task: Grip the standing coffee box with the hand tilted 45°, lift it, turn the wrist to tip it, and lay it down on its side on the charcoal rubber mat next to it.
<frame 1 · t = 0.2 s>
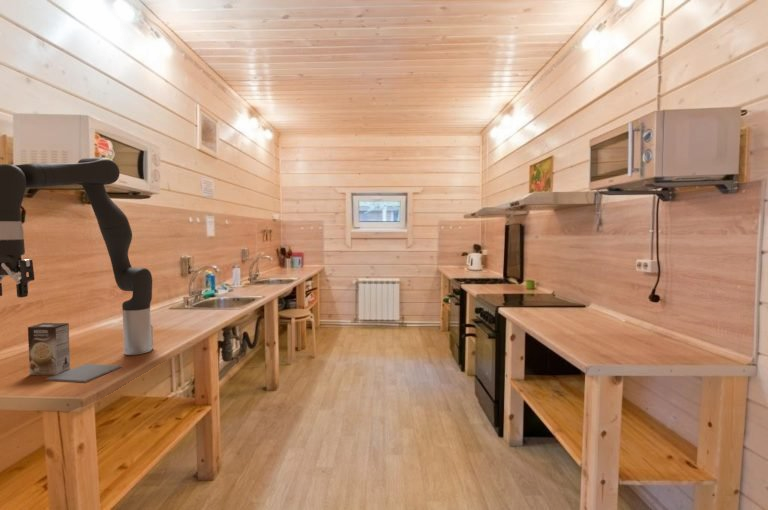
hand: (9, 296, 108), 29 cm above the table, tool pointing down, fingers open, 8 cm apart
mat: (85, 373, 130), on the table
coffee box: (50, 372, 132), on the table
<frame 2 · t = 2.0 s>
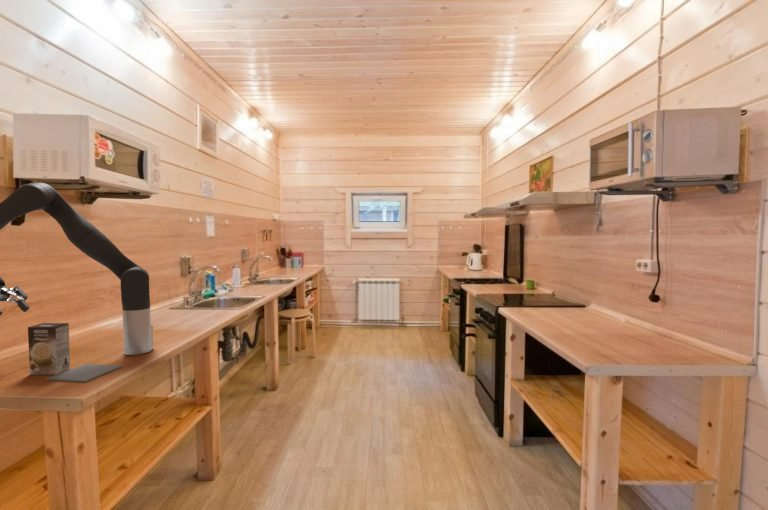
hand: (13, 312, 133), 20 cm above the table, tool tilted 45°, fingers open, 8 cm apart
nothing on the table moved.
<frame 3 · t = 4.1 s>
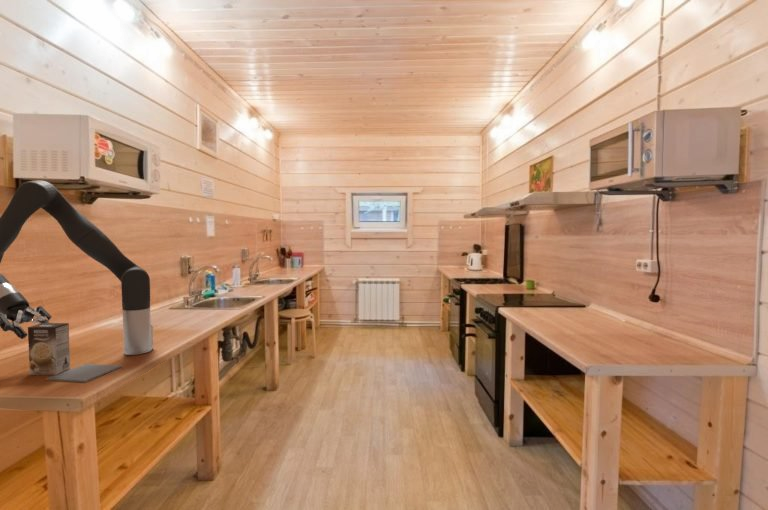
hand: (38, 333, 132), 13 cm above the table, tool tilted 45°, fingers open, 8 cm apart
nothing on the table moved.
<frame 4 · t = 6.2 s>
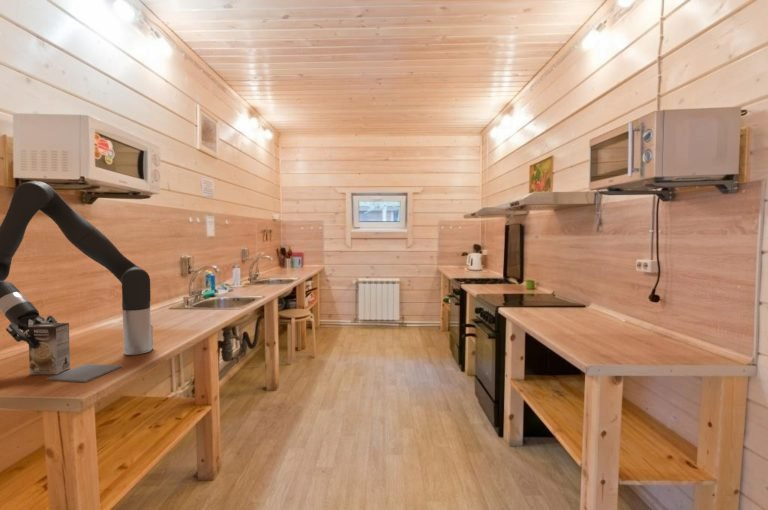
hand: (49, 343, 132), 10 cm above the table, tool tilted 45°, fingers closed on coffee box, 7 cm apart
coffee box: (50, 372, 132), on the table, touching gripper
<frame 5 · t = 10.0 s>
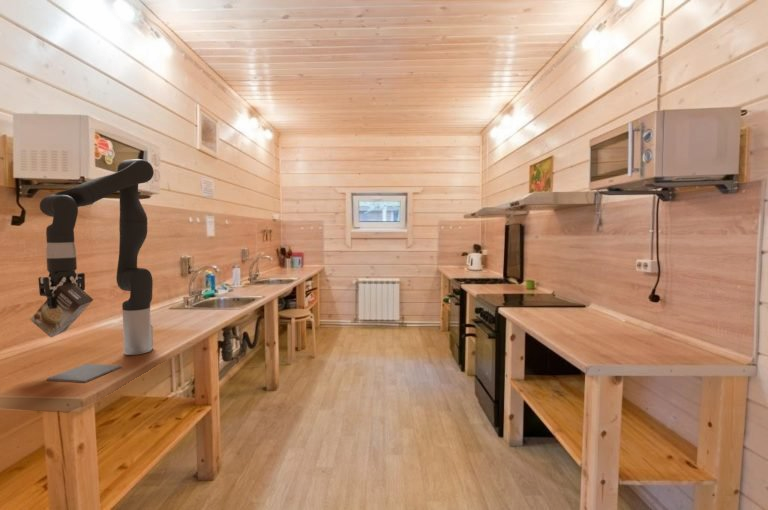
hand: (64, 306, 129), 23 cm above the table, tool pointing down, fingers closed on coffee box, 7 cm apart
coffee box: (47, 326, 131), point 16 cm above the table, touching gripper
when the fingers open (12 cm above the table, at t = 13.1 s): coffee box moves 3 cm, resting on mat.
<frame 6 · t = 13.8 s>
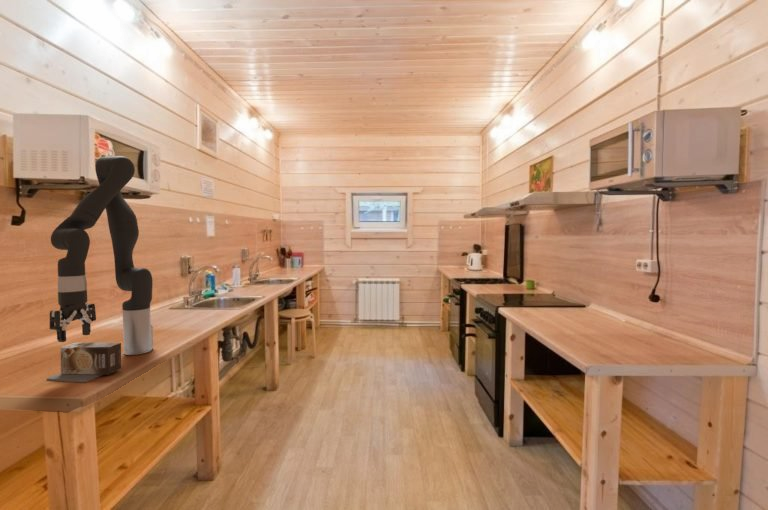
hand: (74, 338, 129), 12 cm above the table, tool pointing down, fingers open, 8 cm apart
coffee box: (67, 358, 131), point 5 cm above the table, touching mat
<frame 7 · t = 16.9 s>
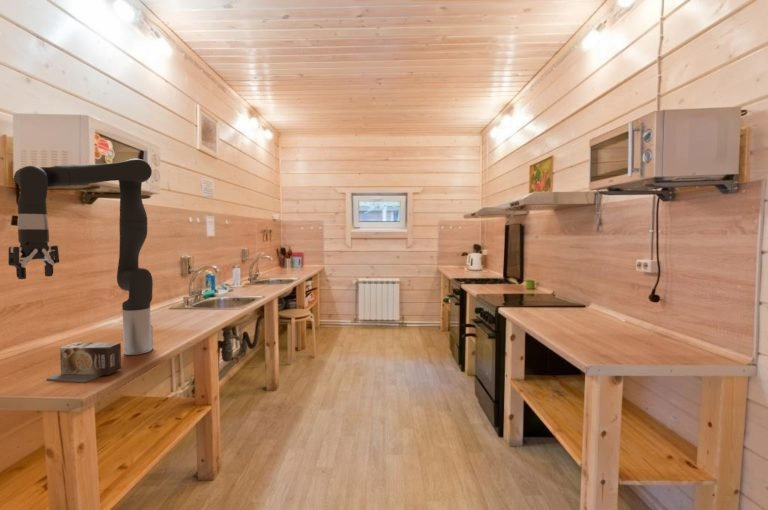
hand: (35, 277, 129), 32 cm above the table, tool pointing down, fingers open, 8 cm apart
nothing on the table moved.
at the end: coffee box tilted 89°; coffee box touching mat; coffee box inside the target area on the mat (5.8 cm from its centre), point 5.0 cm above the mat's base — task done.
